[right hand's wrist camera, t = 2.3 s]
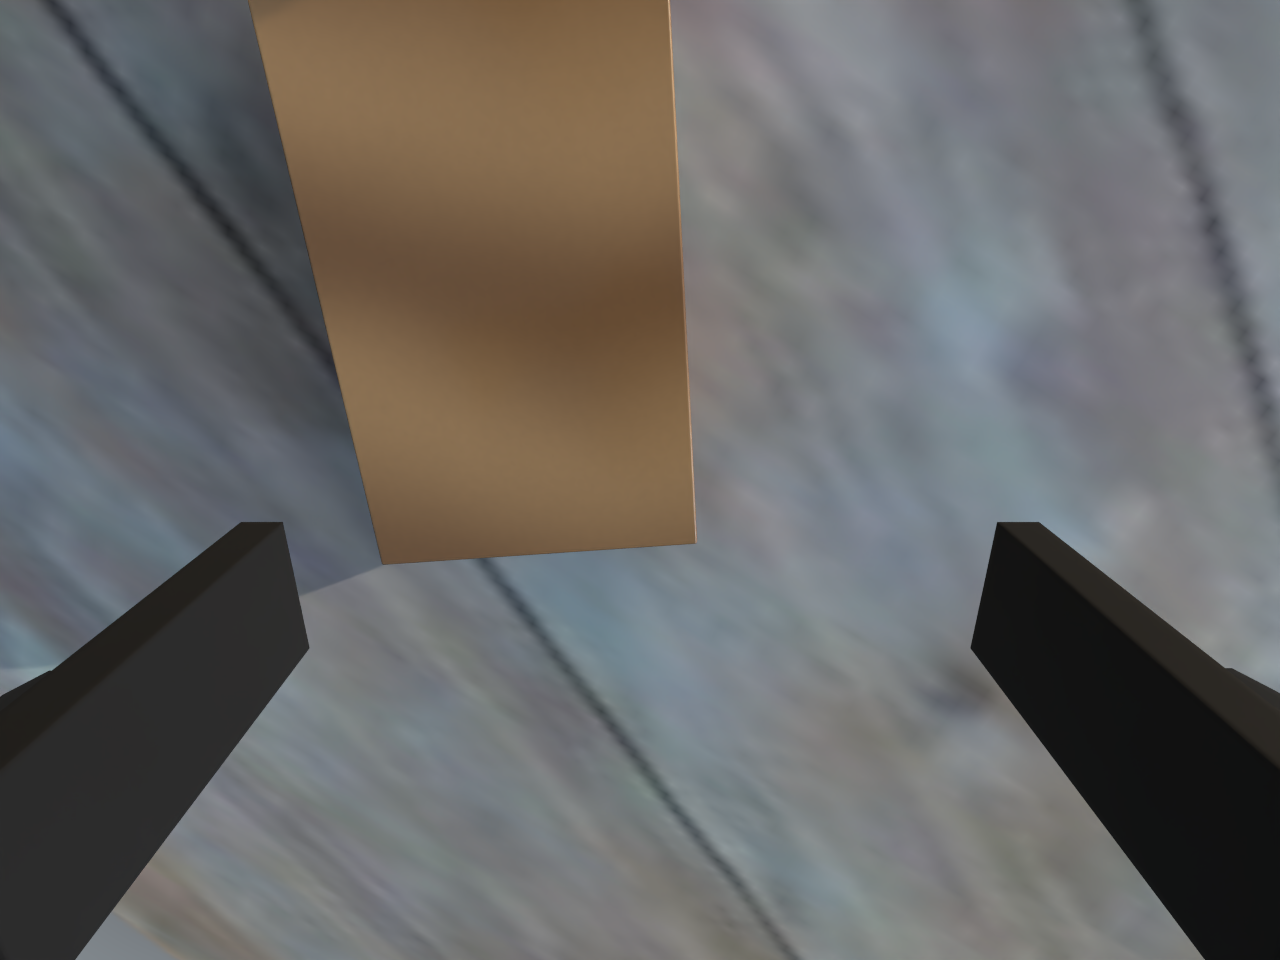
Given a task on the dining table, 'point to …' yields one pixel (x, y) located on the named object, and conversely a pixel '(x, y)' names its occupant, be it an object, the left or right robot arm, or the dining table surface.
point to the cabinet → (496, 264)
